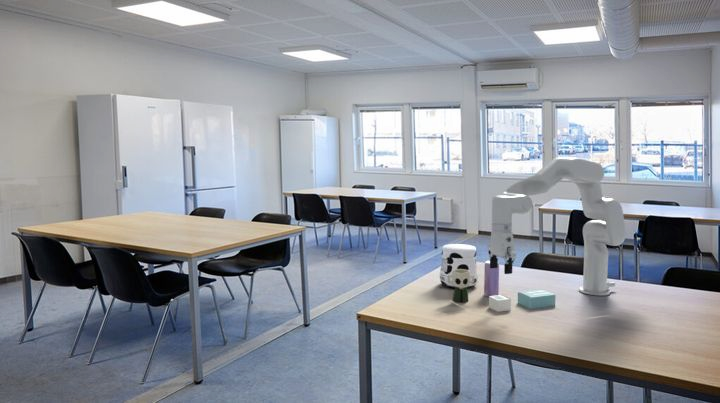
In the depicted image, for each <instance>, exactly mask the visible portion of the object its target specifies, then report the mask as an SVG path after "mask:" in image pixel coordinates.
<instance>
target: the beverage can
mask: <svg viewBox="0 0 720 403" xmlns="http://www.w3.org/2000/svg"><path fill="white" fill-rule="evenodd" d="M499 262H500V261H498V267H497V268H490V260H486V261H484V276H483V278H484V280H483V281H484V284H483V295H484V297H487V298H489V296H495V295H499V290H500V284H499V280H500V264H499Z"/></svg>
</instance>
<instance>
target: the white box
mask: <svg viewBox="0 0 720 403" xmlns="http://www.w3.org/2000/svg"><path fill="white" fill-rule="evenodd" d="M488 308H490V309H491V310H493V311H496V312H497V313H498V312H507V311H511V310H512V309H511V308H512V298H510V297H508V296H506V295H504V294H498V295H495V296H489V297H488Z"/></svg>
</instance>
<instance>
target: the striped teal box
mask: <svg viewBox="0 0 720 403" xmlns="http://www.w3.org/2000/svg"><path fill="white" fill-rule="evenodd" d="M517 304H519V305H520V306H521V305H522V306H523V307H526V308H528V309H537V308H545V307H555V306H556V294H555V293H553V292H550V291H548V290H546V289H545V290H544V289H543V288H541V289H537V290H534V289H533V290H525V291H519V292H517Z"/></svg>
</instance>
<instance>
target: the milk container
mask: <svg viewBox="0 0 720 403" xmlns="http://www.w3.org/2000/svg"><path fill="white" fill-rule="evenodd" d="M454 269H465V270H469V271H470V275H474V283H470V284H469V286H468V287H466V288H467V289H469V288H472V287H475V286H476V285H477V283H478V280H479V274H478V270H477V247H476V246H475V245H470V244H462V243H460V244H459V243H453V244H450V243H449V244H445V245H443V246H442V248H441V267H440V271H439V280H440V283H441V285H443V286H445V287H448V288H453V289H455V286H453V284H452V283H448V275H452V271H453V270H454ZM450 280H452V277H450ZM470 281H472V277H470Z"/></svg>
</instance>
